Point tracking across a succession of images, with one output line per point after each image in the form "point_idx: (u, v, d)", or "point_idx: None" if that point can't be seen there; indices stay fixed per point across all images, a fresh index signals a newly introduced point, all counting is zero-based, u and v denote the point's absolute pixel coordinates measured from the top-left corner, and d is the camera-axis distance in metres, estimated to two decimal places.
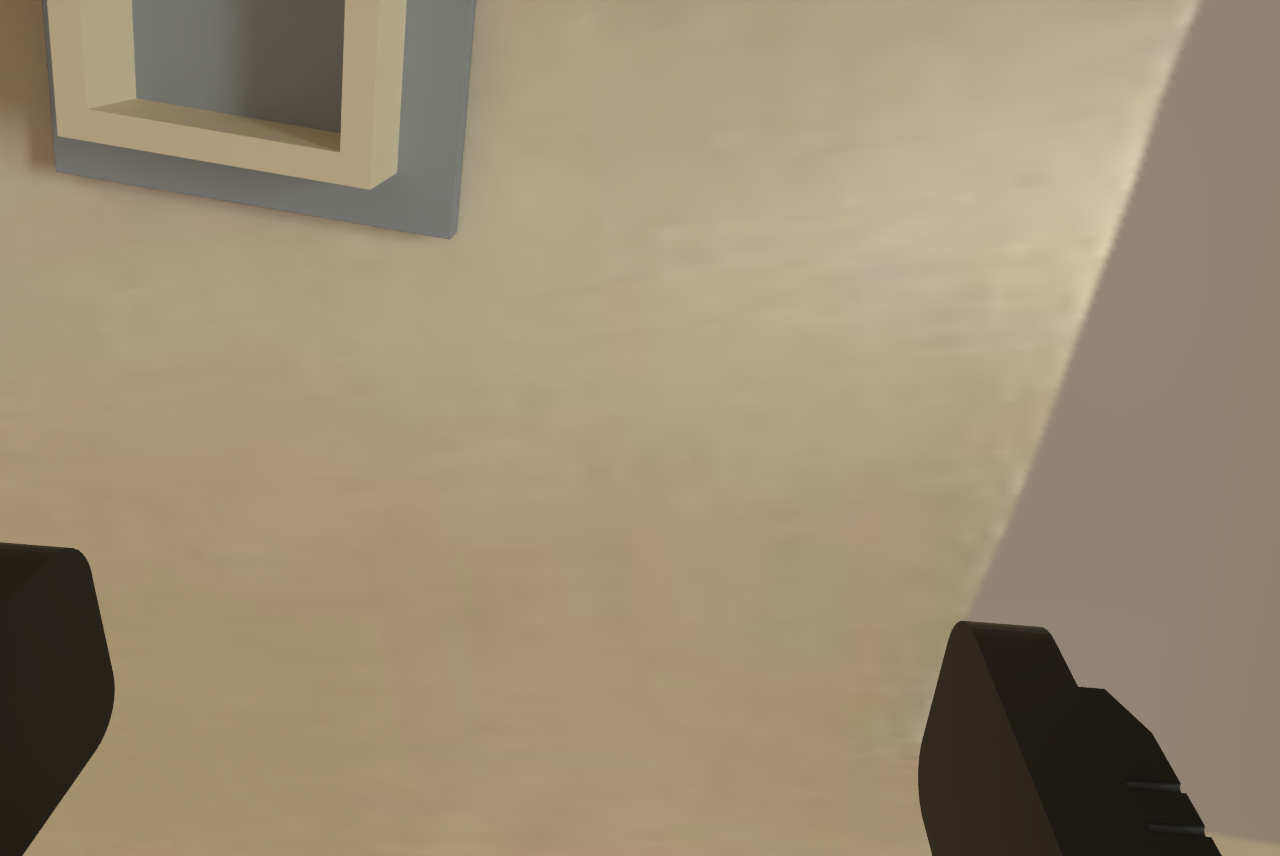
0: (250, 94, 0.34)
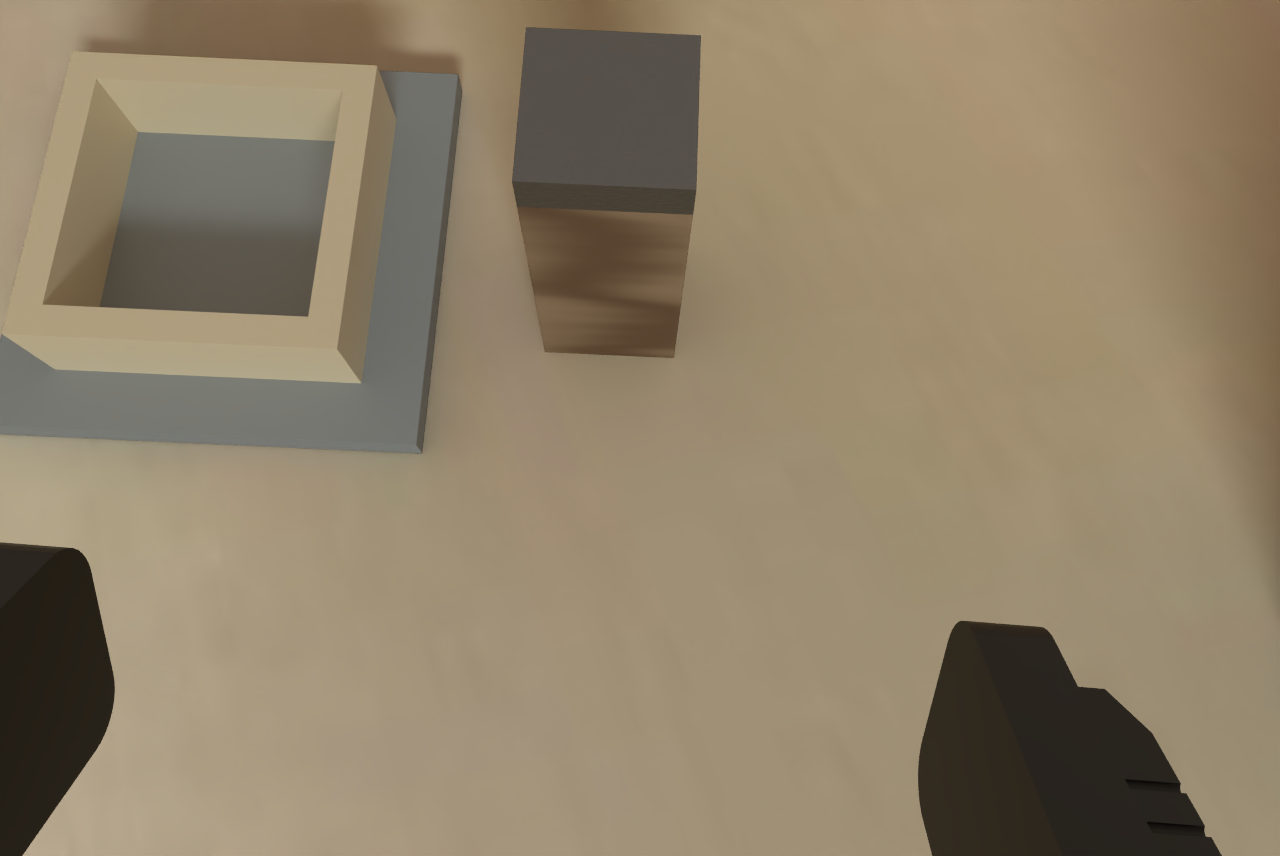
0: (139, 232, 0.35)
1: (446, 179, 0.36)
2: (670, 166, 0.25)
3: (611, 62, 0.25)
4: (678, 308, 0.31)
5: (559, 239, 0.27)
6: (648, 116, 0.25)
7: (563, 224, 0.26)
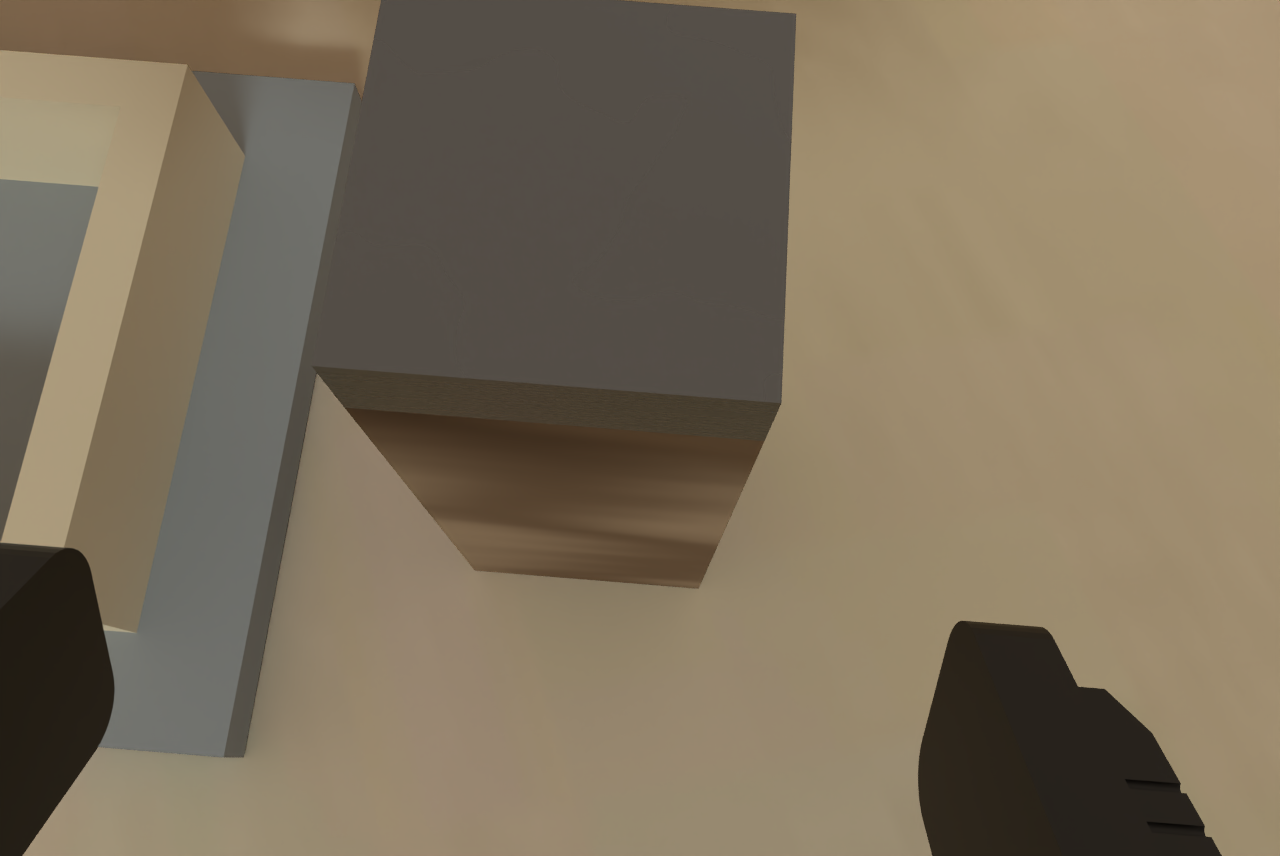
0: None
1: (321, 261, 0.21)
2: (716, 336, 0.10)
3: (581, 71, 0.11)
4: (713, 547, 0.16)
5: (460, 458, 0.12)
6: (665, 206, 0.10)
7: (461, 438, 0.11)
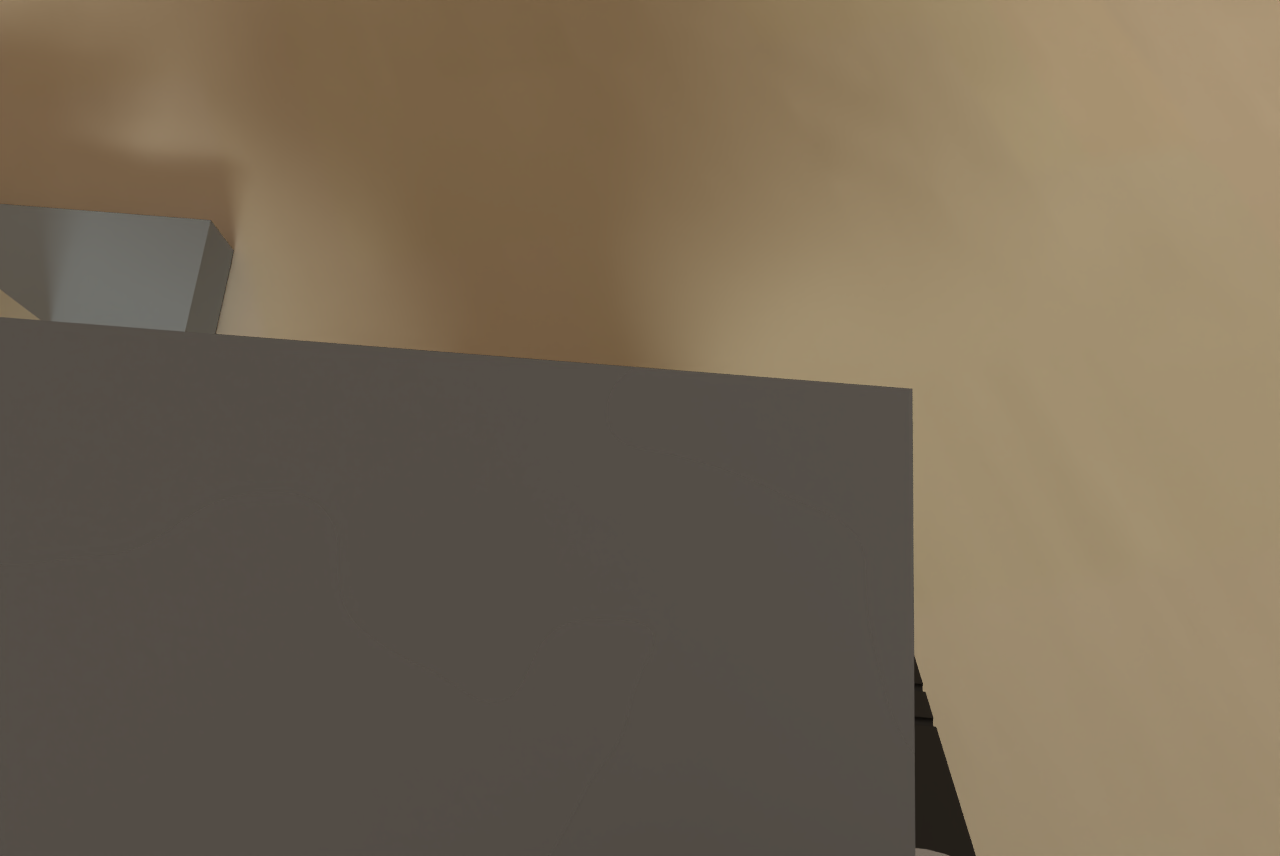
0: None
1: None
2: None
3: (395, 552, 0.04)
4: None
5: None
6: None
7: None
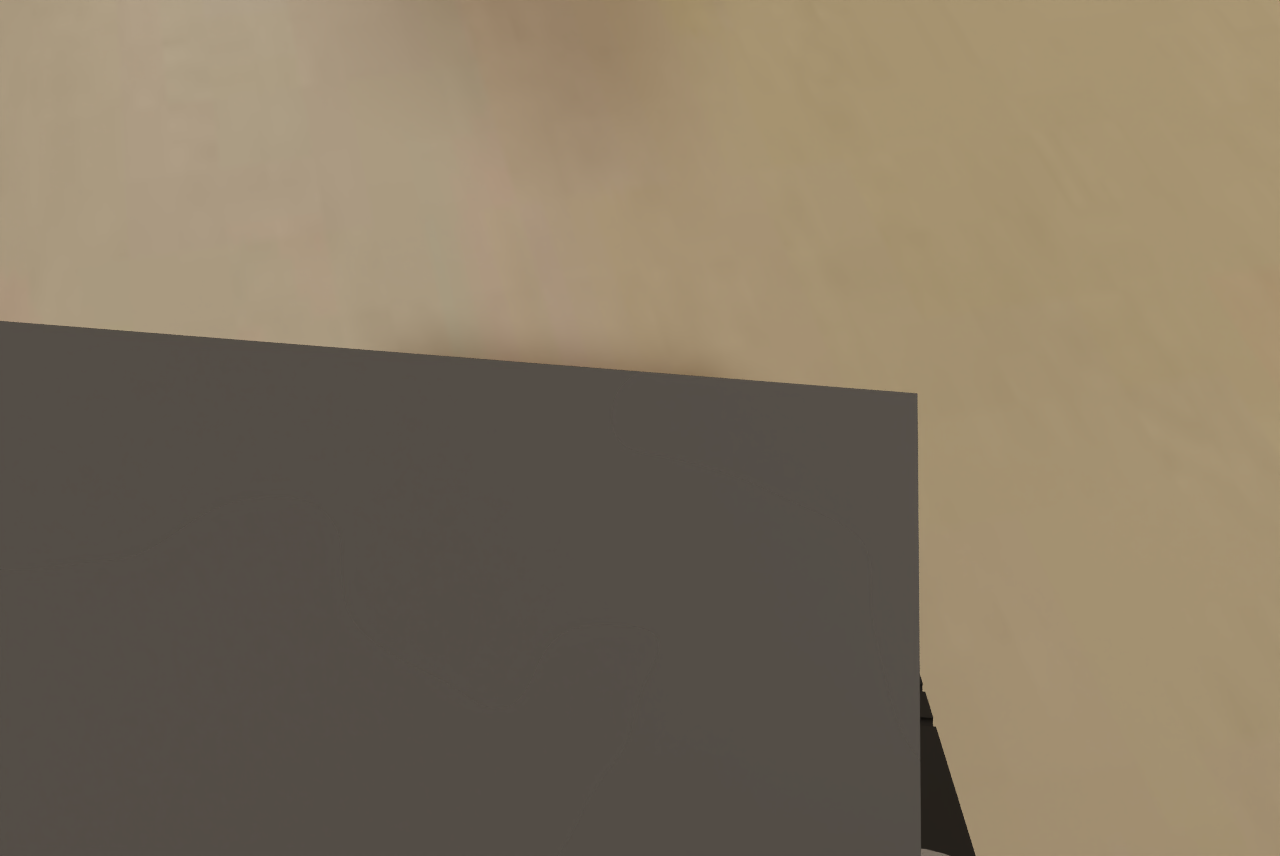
0: None
1: None
2: None
3: (399, 557, 0.04)
4: None
5: None
6: None
7: None
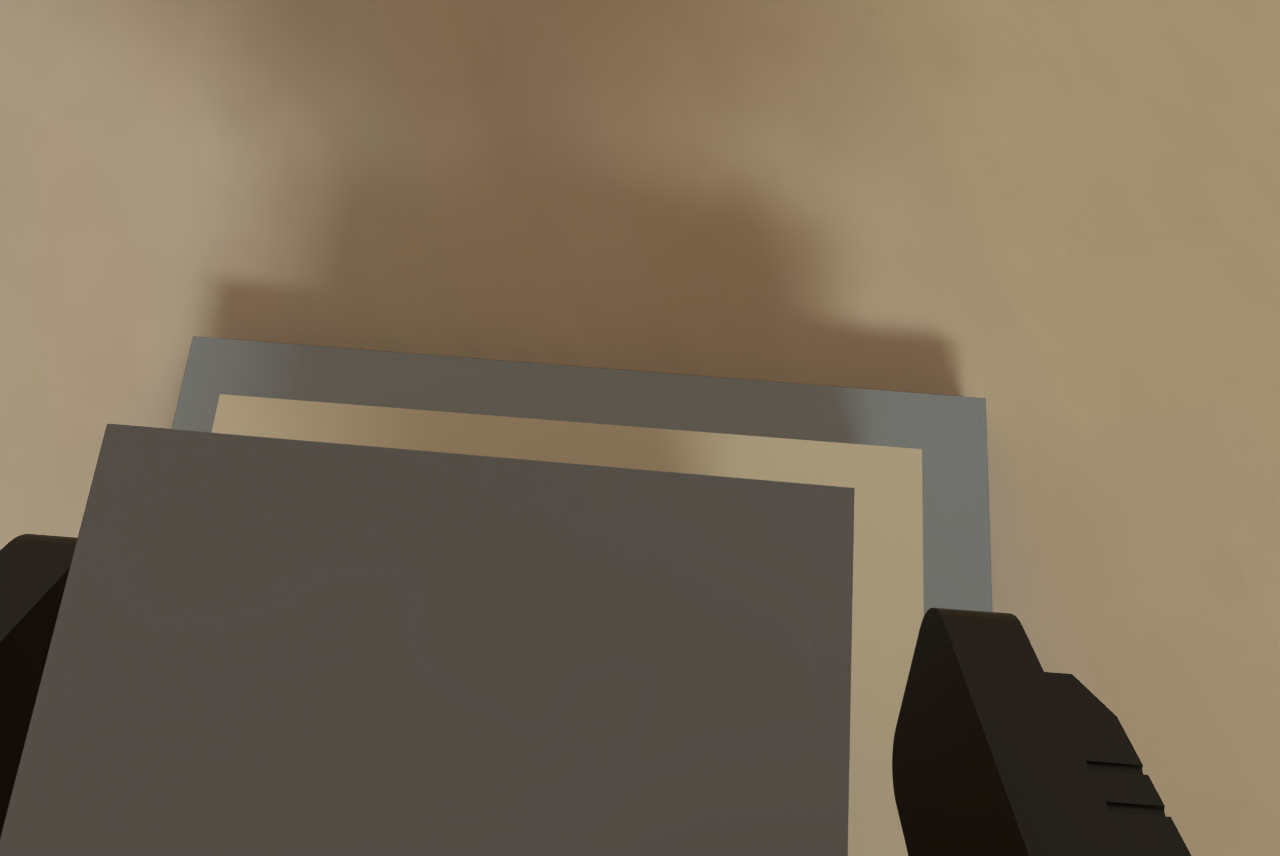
0: None
1: None
2: None
3: (457, 612, 0.06)
4: None
5: None
6: None
7: None
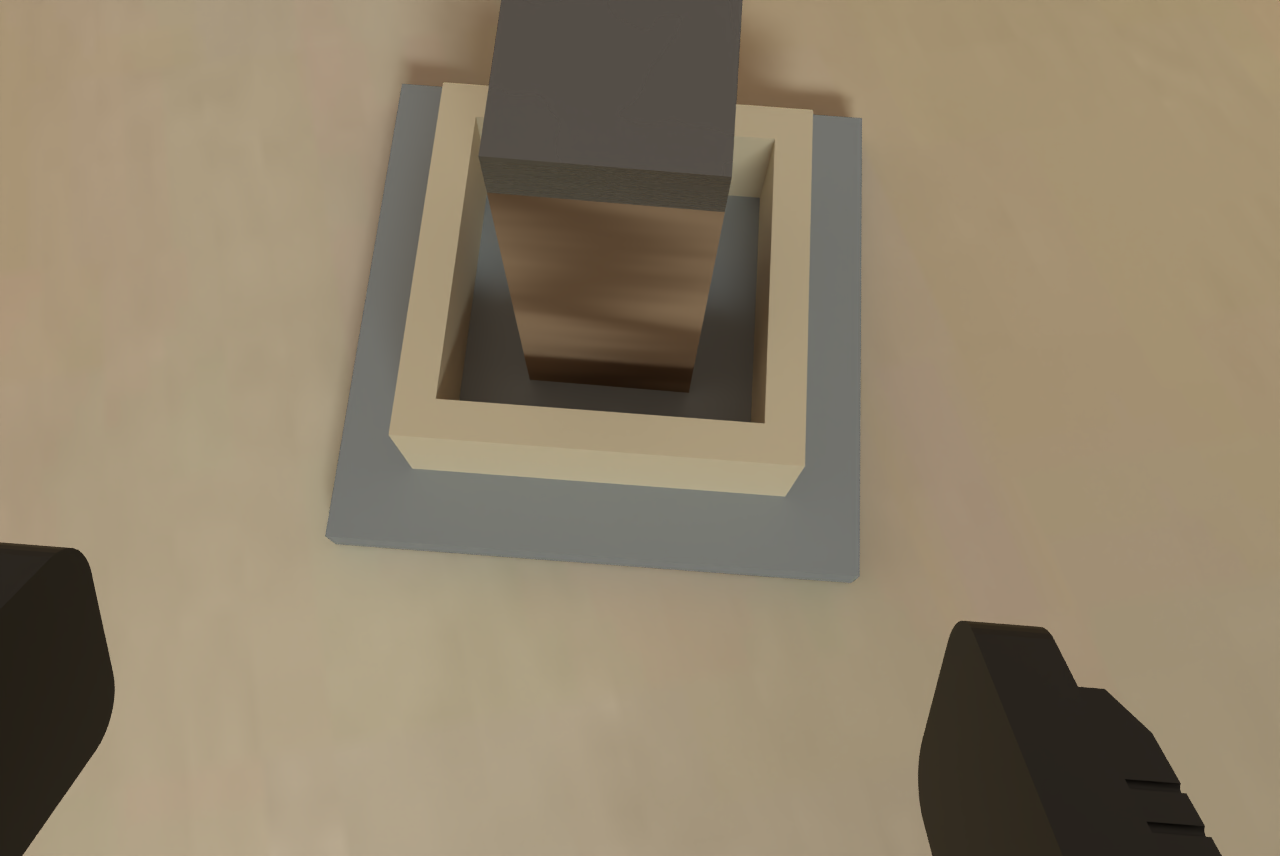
0: (500, 300, 0.29)
1: (860, 245, 0.30)
2: (697, 143, 0.18)
3: (622, 1, 0.19)
4: (698, 334, 0.24)
5: (544, 239, 0.20)
6: (669, 75, 0.18)
7: (549, 219, 0.20)
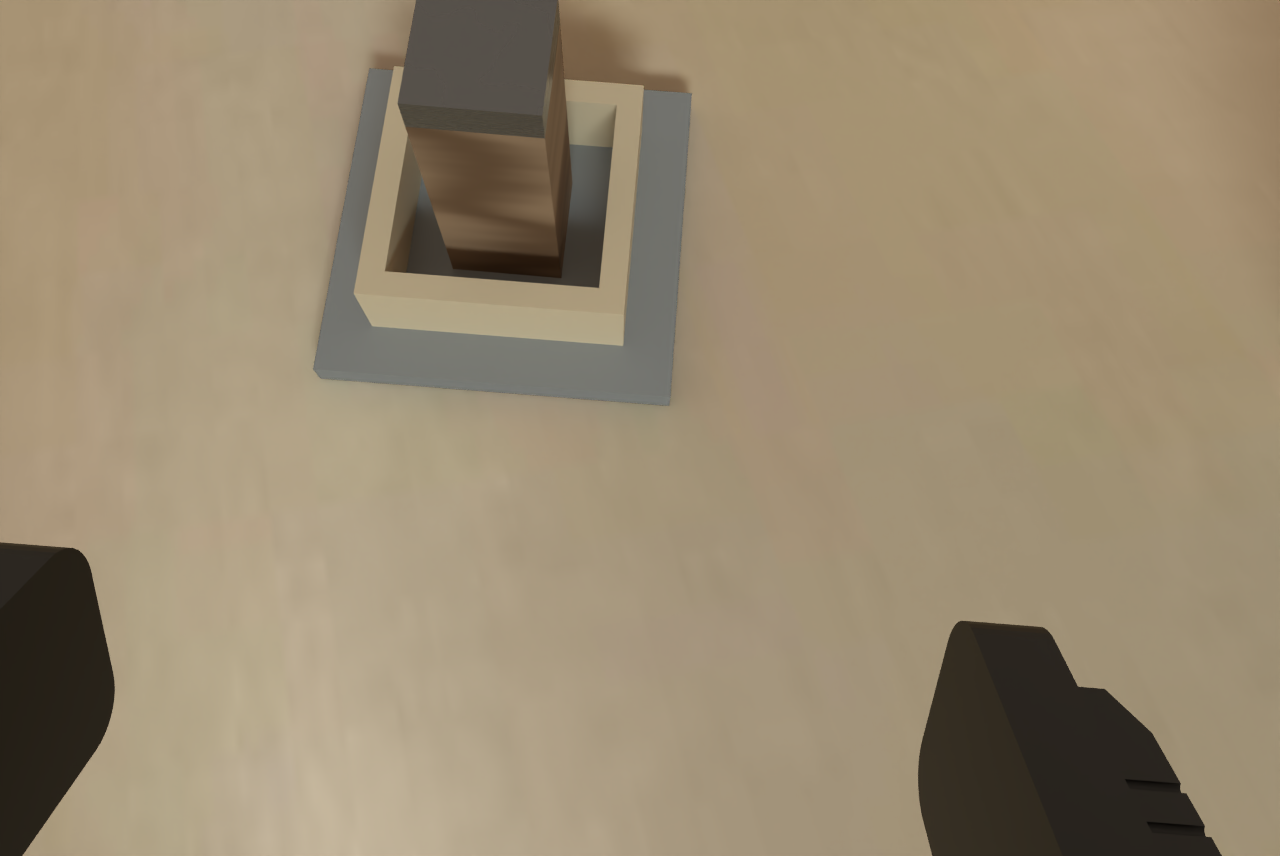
0: (434, 216, 0.42)
1: (685, 180, 0.43)
2: (523, 96, 0.31)
3: (484, 14, 0.32)
4: (553, 228, 0.37)
5: (444, 158, 0.33)
6: (509, 57, 0.31)
7: (444, 144, 0.33)
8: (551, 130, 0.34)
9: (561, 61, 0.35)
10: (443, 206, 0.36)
